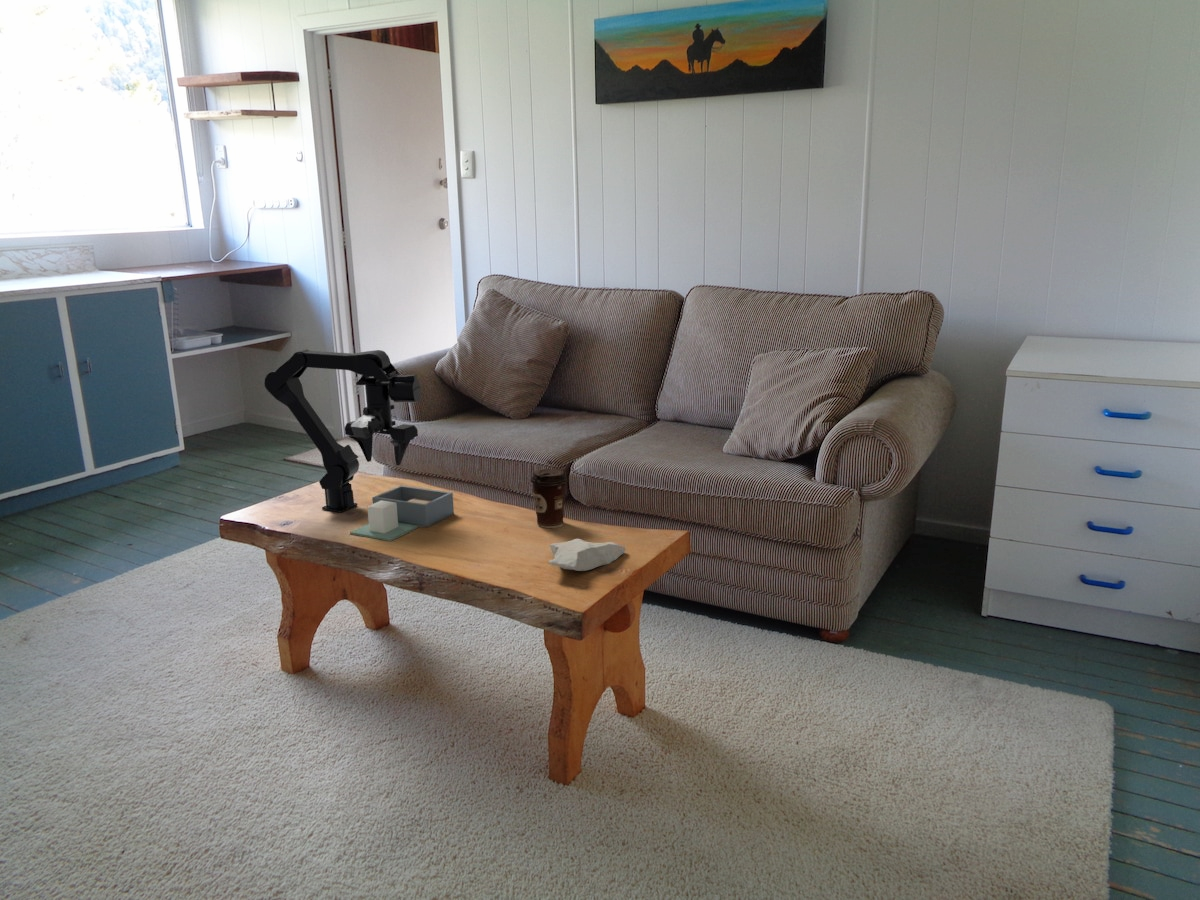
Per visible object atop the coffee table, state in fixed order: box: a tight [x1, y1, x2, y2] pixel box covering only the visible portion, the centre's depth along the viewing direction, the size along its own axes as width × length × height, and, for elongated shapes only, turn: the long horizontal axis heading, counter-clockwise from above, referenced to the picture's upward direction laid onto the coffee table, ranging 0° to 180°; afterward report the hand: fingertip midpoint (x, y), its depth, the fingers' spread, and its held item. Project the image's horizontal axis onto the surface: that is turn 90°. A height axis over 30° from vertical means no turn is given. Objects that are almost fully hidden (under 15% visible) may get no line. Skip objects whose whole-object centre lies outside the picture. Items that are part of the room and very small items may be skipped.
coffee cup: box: [529, 468, 568, 529], centre depth 217 cm, size 9×8×13 cm
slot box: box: [372, 485, 455, 528], centre depth 226 cm, size 16×11×6 cm
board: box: [349, 522, 419, 542], centre depth 217 cm, size 12×10×1 cm
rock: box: [548, 538, 627, 572], centre depth 194 cm, size 21×5×15 cm
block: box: [367, 500, 398, 533], centre depth 216 cm, size 4×5×6 cm
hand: (383, 463), depth 230 cm, fingers open, 9 cm apart
